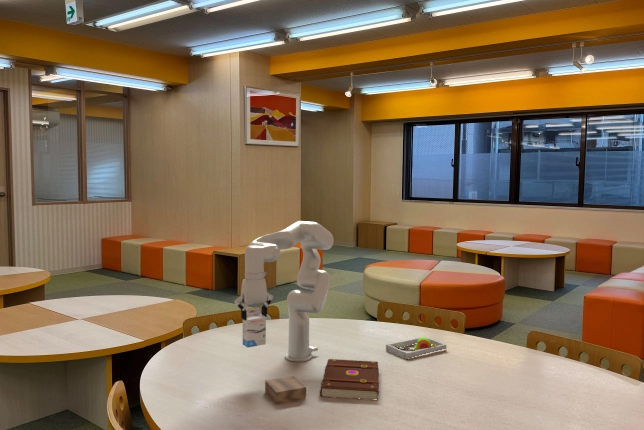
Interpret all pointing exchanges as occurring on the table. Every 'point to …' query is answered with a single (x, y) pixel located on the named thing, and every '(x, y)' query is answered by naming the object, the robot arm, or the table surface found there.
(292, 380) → the walnut block
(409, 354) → the grey plastic rim
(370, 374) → the book
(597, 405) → the table surface
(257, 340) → the ink box
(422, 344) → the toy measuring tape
